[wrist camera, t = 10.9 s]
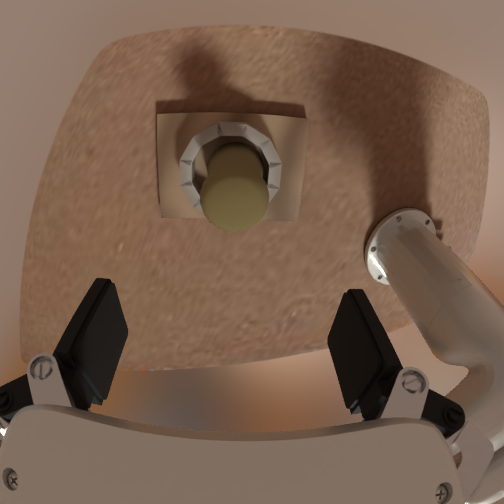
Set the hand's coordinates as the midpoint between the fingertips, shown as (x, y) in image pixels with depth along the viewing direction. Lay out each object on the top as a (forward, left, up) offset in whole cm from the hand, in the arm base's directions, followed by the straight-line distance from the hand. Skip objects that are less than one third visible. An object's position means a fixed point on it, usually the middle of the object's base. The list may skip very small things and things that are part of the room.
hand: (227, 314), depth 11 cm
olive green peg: (0, -1, -21) cm, 21 cm away
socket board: (0, -1, -22) cm, 22 cm away
